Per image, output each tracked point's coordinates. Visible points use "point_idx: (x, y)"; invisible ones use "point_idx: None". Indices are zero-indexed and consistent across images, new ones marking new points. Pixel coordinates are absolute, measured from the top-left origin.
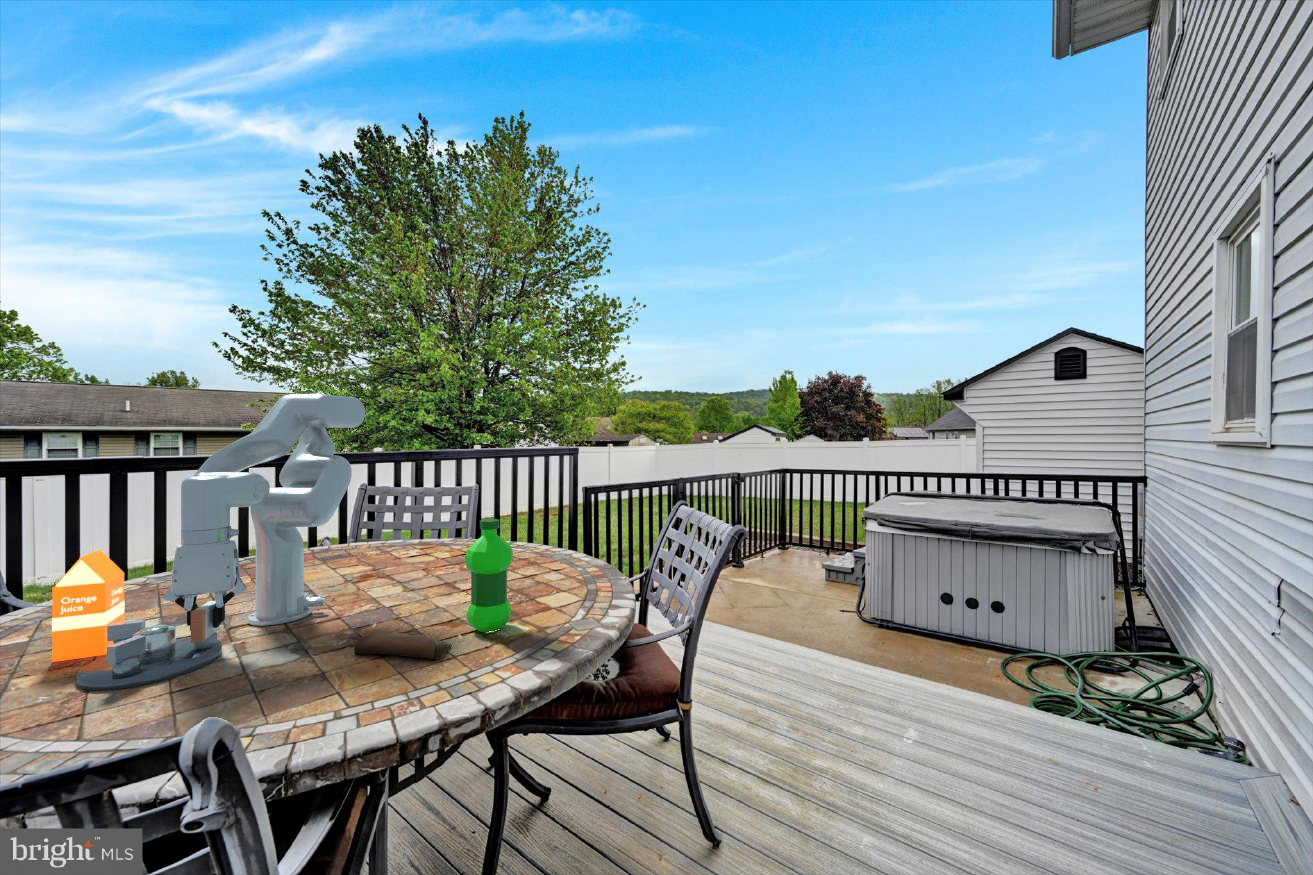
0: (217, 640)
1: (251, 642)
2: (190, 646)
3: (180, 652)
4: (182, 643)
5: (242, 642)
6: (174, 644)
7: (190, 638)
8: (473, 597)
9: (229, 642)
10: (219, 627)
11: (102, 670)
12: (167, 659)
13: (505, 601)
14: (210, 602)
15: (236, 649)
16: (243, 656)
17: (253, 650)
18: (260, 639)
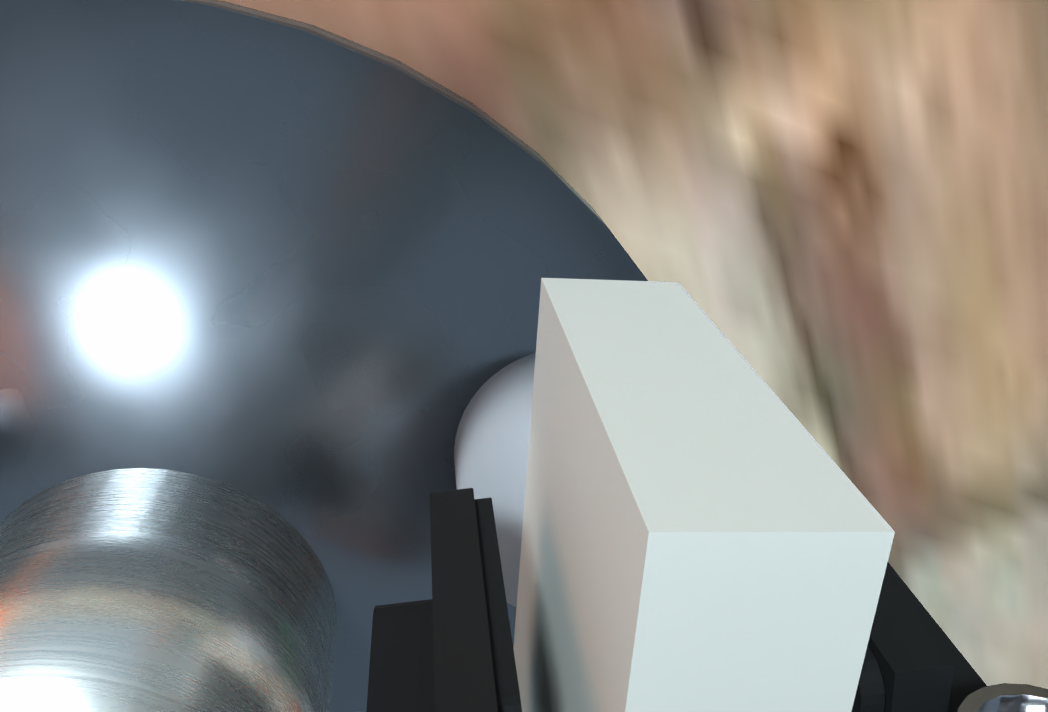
0: (628, 272)
1: (933, 190)
2: (384, 390)
3: (366, 559)
4: (219, 238)
5: (838, 150)
6: (326, 690)
7: (221, 44)
8: None
9: (690, 88)
10: (685, 294)
11: None
12: (333, 709)
13: None
14: (720, 653)
15: (821, 373)
16: (916, 582)
17: (981, 457)
18: (1016, 112)
